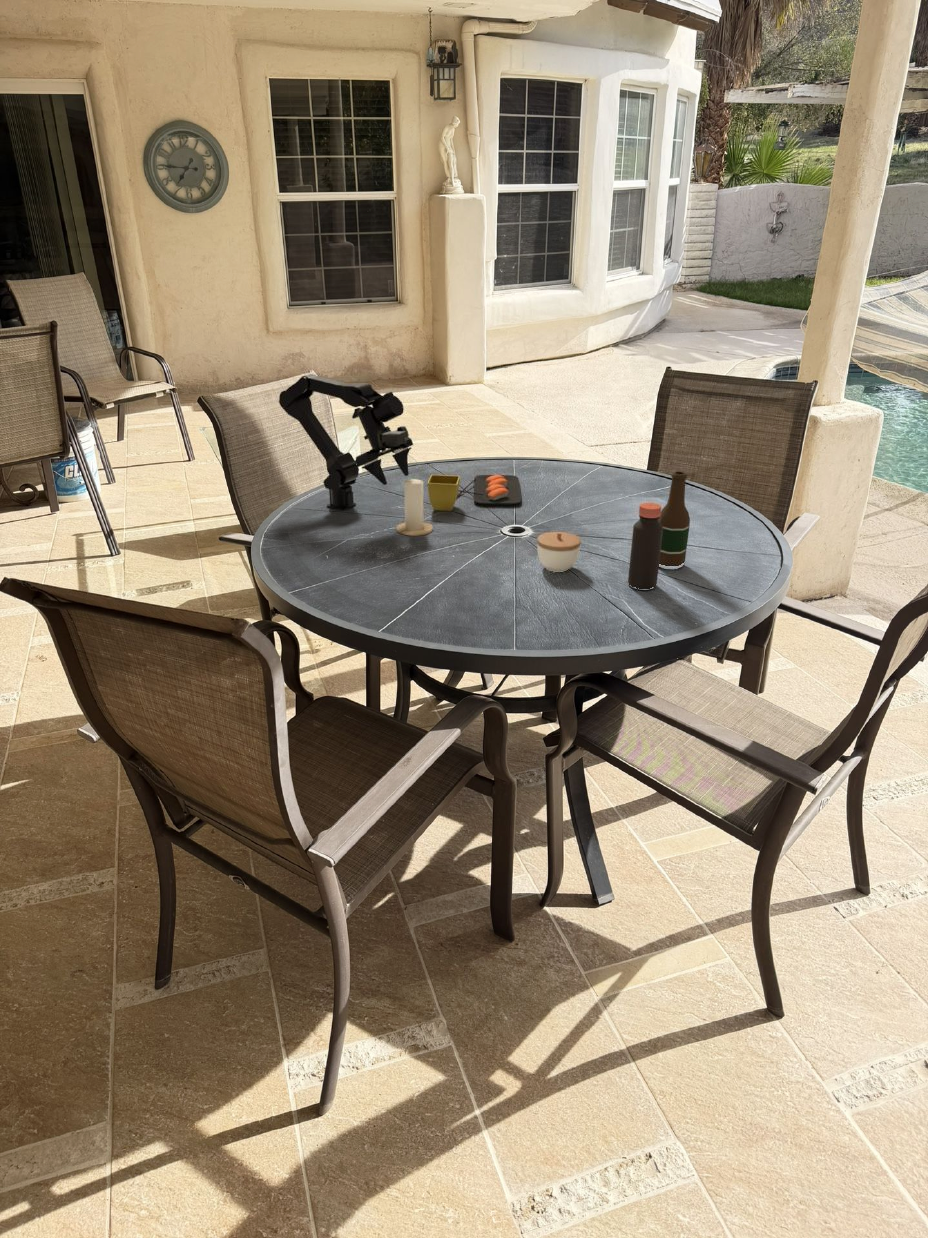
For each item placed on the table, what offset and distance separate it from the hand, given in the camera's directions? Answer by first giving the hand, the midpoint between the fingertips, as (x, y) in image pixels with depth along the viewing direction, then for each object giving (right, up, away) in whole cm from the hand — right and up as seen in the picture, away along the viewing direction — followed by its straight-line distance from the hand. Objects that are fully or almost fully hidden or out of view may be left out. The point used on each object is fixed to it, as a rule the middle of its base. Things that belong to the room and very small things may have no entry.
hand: (396, 480), depth 244 cm
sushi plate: (+22, 0, +28) cm, 36 cm away
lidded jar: (+43, -27, -28) cm, 57 cm away
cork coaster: (+5, -14, -3) cm, 16 cm away
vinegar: (+62, -31, -37) cm, 79 cm away
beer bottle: (+71, -26, -25) cm, 80 cm away
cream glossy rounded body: (+5, -14, -3) cm, 15 cm away
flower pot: (+13, -6, +14) cm, 20 cm away
